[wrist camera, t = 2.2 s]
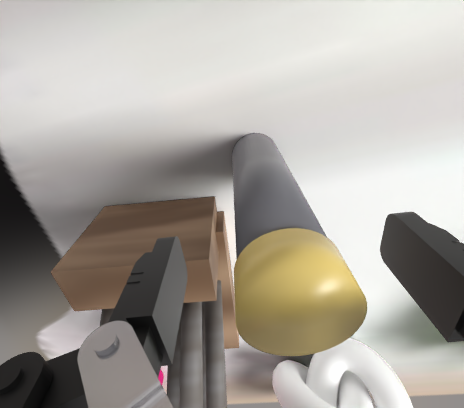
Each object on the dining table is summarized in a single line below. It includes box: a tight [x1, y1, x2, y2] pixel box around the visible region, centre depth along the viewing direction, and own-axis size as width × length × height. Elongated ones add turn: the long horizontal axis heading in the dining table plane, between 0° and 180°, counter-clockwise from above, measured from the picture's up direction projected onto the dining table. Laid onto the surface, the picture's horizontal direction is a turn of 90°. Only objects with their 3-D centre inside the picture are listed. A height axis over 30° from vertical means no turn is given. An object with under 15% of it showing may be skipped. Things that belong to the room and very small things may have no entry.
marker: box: [232, 133, 367, 356], centre depth 11 cm, size 3×3×12 cm
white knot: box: [272, 338, 413, 408], centre depth 25 cm, size 11×12×9 cm
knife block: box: [51, 197, 239, 408], centre depth 17 cm, size 15×9×11 cm, turn 5°
